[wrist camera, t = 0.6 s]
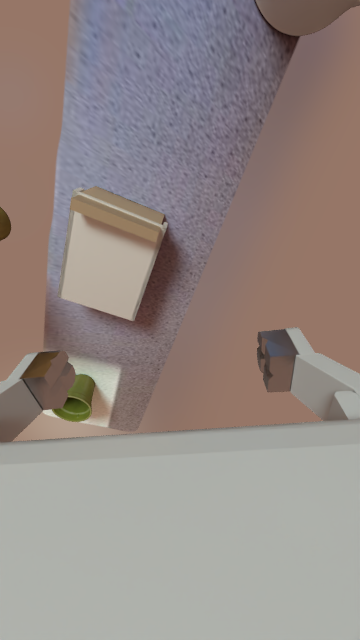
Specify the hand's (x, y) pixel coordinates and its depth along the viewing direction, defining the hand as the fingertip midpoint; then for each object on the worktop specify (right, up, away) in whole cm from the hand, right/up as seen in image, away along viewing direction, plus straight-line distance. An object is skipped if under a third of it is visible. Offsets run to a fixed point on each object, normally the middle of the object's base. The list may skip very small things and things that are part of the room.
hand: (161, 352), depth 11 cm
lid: (-11, +12, +33) cm, 37 cm away
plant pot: (-25, -15, +57) cm, 64 cm away
